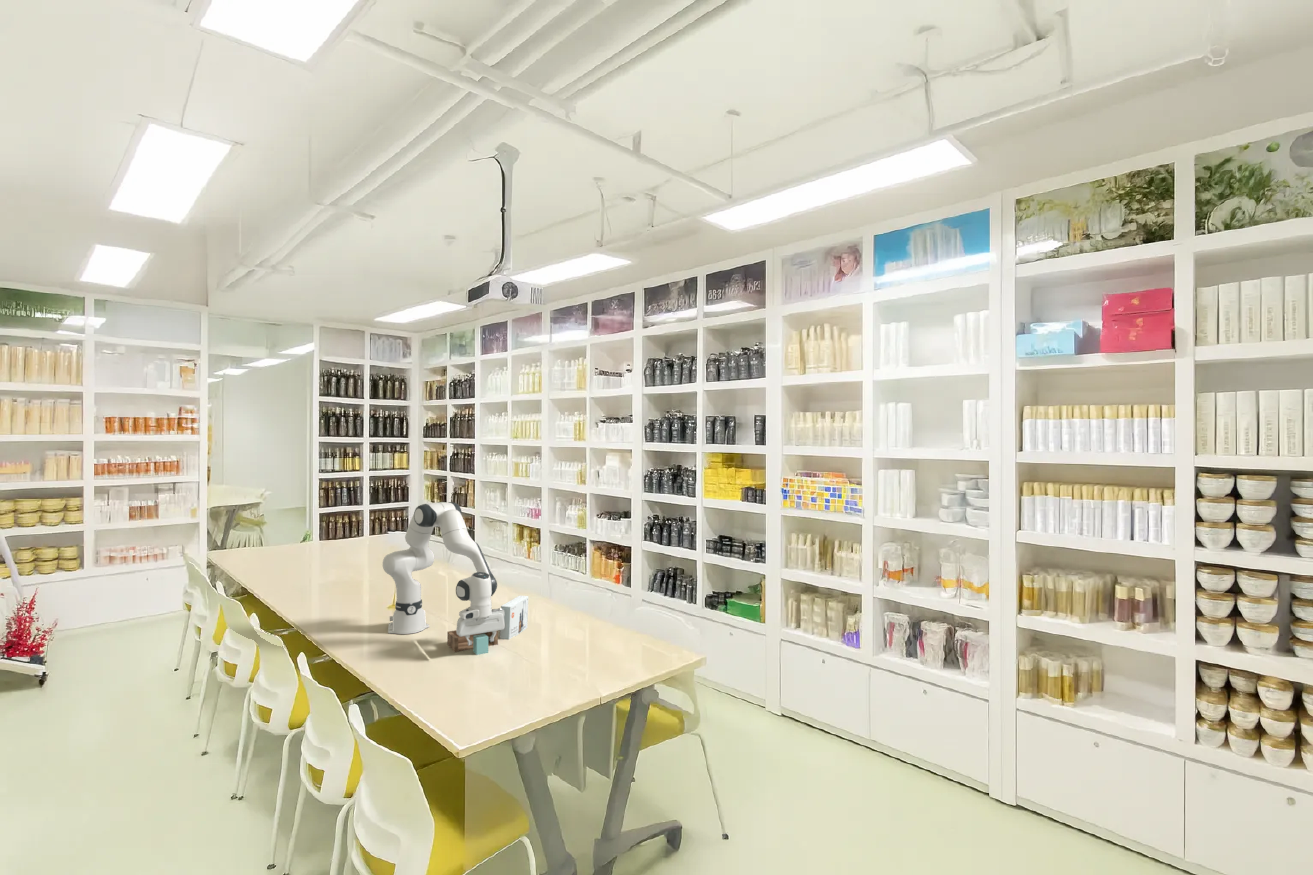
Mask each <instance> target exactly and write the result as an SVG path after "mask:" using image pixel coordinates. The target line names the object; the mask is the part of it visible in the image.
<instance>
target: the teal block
mask: <svg viewBox="0 0 1313 875" xmlns="http://www.w3.org/2000/svg"><path fill="white" fill-rule="evenodd" d="M472 652H473V653H474V654H475V655H476V656H478V655H484V654H489V646H488V636H487V635H486V634H481V635H475V636H473V649H472Z"/></svg>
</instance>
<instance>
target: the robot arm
mask: <svg viewBox="0 0 1313 875" xmlns="http://www.w3.org/2000/svg"><path fill="white" fill-rule="evenodd" d="M461 508H462V507H461V506H460V505H459V504H458V503H456V502H451V501H449V502H445V501H444V502H443V501H441V502H440V501H439V502H437V501H436V502H431V503H423V504H419V505H418V506H416V508H415V509H414V512H413V514H412V517H411V518H410V519H411V520H410V522H409V524H408V527H407V530H406V533H405V536H404V540H405V542H406V544H407V545H408V546H410V547H409V548H407V549H402V550H397V551H394V552H391V553H389V554H386V555H385V556H384V557H383V560H382V568H383V571H384V572H385V573H386V574H387V575H389V576H390V577H391V578H392V579H393V581H394V583H395V588H396V601H395V605H394V606H395V608H394V609H395V610H394V612H393V614H392V615H391V616H389V622H388V625H387V627H388V628H387V633H388V634H397V635H409V634H415V633H419V632H421V631H424V630H425V629H428V628H430V624H428V623H426V622H427V621H426V619H427V618H426V610H424V609H423V599H422V585H421V583H420V581H419V580H417V579H414V578H413V576H412V575H413V574H412V573H413V572H418V571H422V570H424V569H427V568H429V567H432V565H433V564H434V563H435V554H434V552H433V550H432V549H431V548H430V546H429V544H430V541H431V537H432V534H433V531H434V528H436V527H439V528H440V532H441V537H442V541H443V544H444V546H445V548H446V550H448V551H449V552H450V553H453V554H457V555H461V556H464V557H467V558H469V559H470V560H471V562H472V563H473V566H474V568H475V570H476V572H473V573H472V574H471V576H469V577H466V578H462V579H460V580H459V581H458V582H457V583H456V586H455V596H456V597H457V598H458V599H459V600H460V601H464V602H466V601H469V602H470V606H469V607H466V608H465V609H462V610H460V611H459V613H458V616H459V617H458V619H457V622H456V629H455V630H456V633H457V635H458V636H460V637H462V636H465V638H466V639H467V641H468V646H469V645H472V641H471V640H469V637H470V635H474V634H480V633H486V632H492V633H493V634H492V636H491V637H489V641H490V642H492V641H494V637H495V635H496V633H497V631H498V632H499V631H500V630H503V629H504V627H505V623H504V610H503V609H501V607H499V608H493V607H492V604H493V603H492V600H491V599H492V597H493V595H494V594H495V592H496V591H497V589H498V581H497V580H496V577H495V576H494V575H493V573H492V572H491V569H490V566H489V565H488V561H487V559H486V558H485V556H484V553H483V551H482V549H481V547H480V545H479V544H478V543H477V542H476V541H474V540H473V538H472V537H471V536H470V533H469V532H468V528H467V526H466V522H465V520H464V518H463V515H462V514H463V513H462V512H463V511H462V509H461Z"/></svg>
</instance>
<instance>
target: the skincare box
mask: <svg viewBox="0 0 1313 875" xmlns="http://www.w3.org/2000/svg"><path fill="white" fill-rule="evenodd" d="M500 608H501V609H503V610H504V623H505V627H504V629H503V630H499V639H500V640H511V639H512V638H513V637H516V636H518V635H520V634H521V633H522V632H523V631H526V630H527V629H528V616H529V596H528V595H518V596H516V597H514V598H513V599H511V600H509V601H508V602H506V603H504V604H502V605H501V606H500Z"/></svg>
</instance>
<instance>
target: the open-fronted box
mask: <svg viewBox="0 0 1313 875" xmlns="http://www.w3.org/2000/svg"><path fill="white" fill-rule="evenodd" d="M481 634H486V635H487V636H488V647H490V646H497V645H499V630H498V631H497V633H496V635H495V637H494V641H492V642H490V641H489V637H491V636H492V634H493V633H492V632H486V633H480V634H474V635H470V637H469V640H471V641H472V645H469V646H468V641H467V639H466V638H465V636H462V637H460V636H458V635H457V633H456V629H455V630H449V631H447V635H446V636H447V639H446V640H447V644H446V645H447V646H448V647H449V648H450V649H451V650H452V651H453V652H454V653H457V652H458V653H459V652H462V651H463V652H465V651H469V650H473V636H475V635H481Z"/></svg>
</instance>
